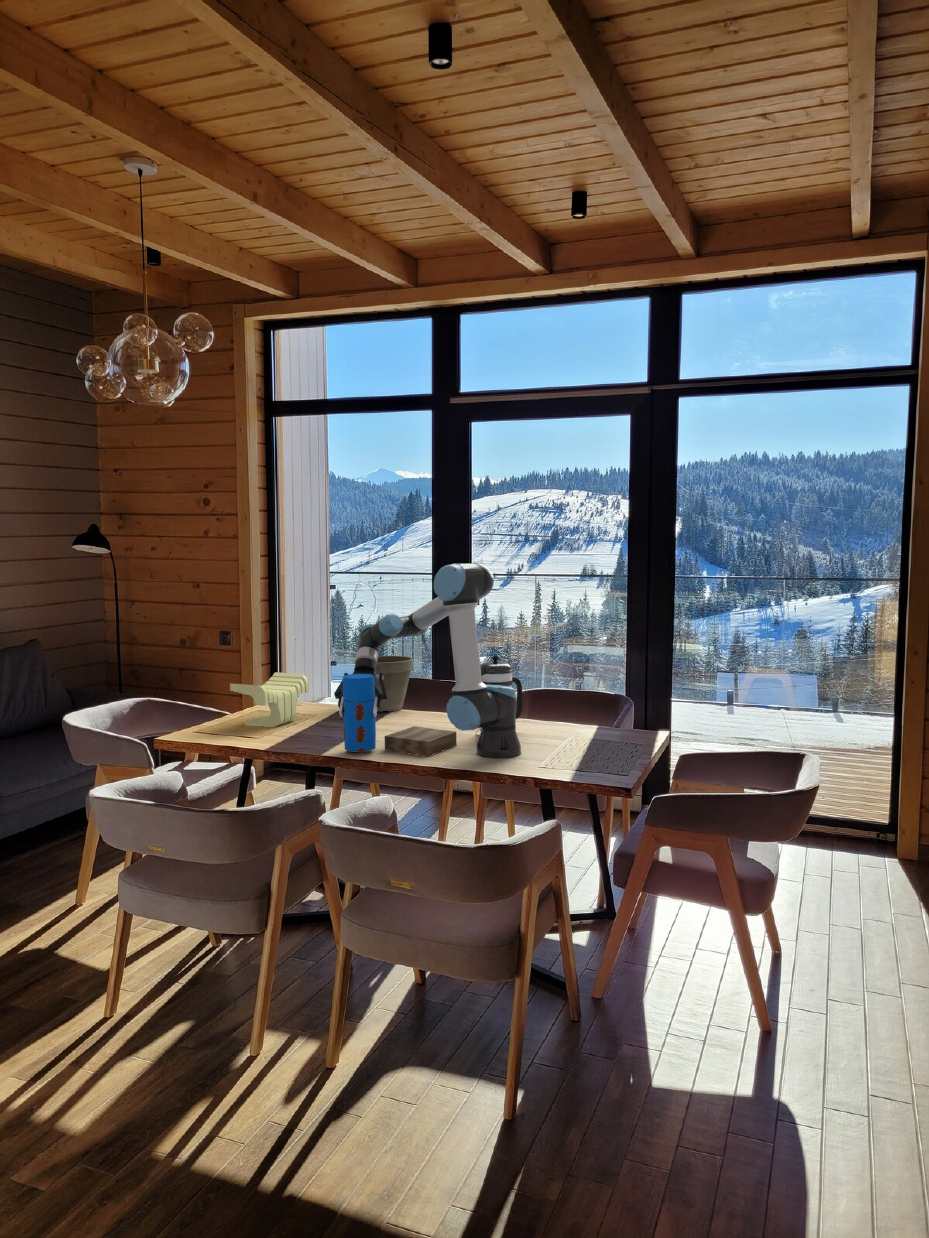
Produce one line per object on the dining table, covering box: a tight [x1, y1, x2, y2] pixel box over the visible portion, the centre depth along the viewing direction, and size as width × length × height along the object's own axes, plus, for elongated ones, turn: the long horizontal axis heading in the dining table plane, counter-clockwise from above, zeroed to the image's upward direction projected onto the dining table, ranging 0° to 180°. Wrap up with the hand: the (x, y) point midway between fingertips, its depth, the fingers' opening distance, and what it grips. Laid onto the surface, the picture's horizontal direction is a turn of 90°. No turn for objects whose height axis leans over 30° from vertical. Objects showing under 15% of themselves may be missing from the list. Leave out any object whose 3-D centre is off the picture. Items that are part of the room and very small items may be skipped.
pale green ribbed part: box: [229, 672, 310, 728], centre depth 360 cm, size 30×16×18 cm, turn 157°
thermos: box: [342, 673, 377, 753], centre depth 311 cm, size 11×11×25 cm
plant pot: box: [354, 655, 414, 713], centre depth 388 cm, size 25×25×22 cm
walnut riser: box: [384, 726, 457, 757], centre depth 317 cm, size 18×18×5 cm
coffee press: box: [475, 654, 523, 737], centre depth 335 cm, size 17×16×30 cm
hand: (357, 714), depth 309 cm, fingers closed on thermos, 11 cm apart
